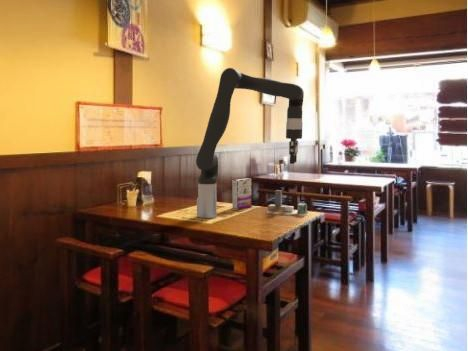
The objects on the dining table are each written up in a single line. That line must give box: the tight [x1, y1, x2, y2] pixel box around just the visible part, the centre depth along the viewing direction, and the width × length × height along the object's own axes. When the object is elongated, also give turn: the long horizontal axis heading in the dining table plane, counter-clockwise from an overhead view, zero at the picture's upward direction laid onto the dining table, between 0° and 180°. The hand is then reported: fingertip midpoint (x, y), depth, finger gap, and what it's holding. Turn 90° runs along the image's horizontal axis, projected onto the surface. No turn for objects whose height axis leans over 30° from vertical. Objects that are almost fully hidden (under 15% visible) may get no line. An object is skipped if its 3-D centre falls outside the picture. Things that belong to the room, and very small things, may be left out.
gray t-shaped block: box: [268, 189, 295, 212], centre depth 216 cm, size 13×3×11 cm, turn 69°
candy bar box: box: [231, 177, 253, 210], centre depth 230 cm, size 11×5×16 cm, turn 131°
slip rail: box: [266, 202, 309, 217], centre depth 215 cm, size 20×10×5 cm, turn 69°
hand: (293, 162), depth 190 cm, fingers open, 8 cm apart
